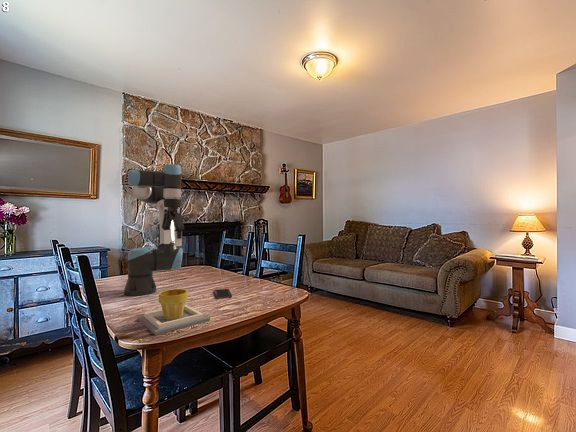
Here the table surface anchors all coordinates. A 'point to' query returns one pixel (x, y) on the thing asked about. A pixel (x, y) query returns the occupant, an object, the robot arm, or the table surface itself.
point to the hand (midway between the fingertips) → (172, 245)
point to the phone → (222, 293)
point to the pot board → (161, 325)
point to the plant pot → (173, 303)
